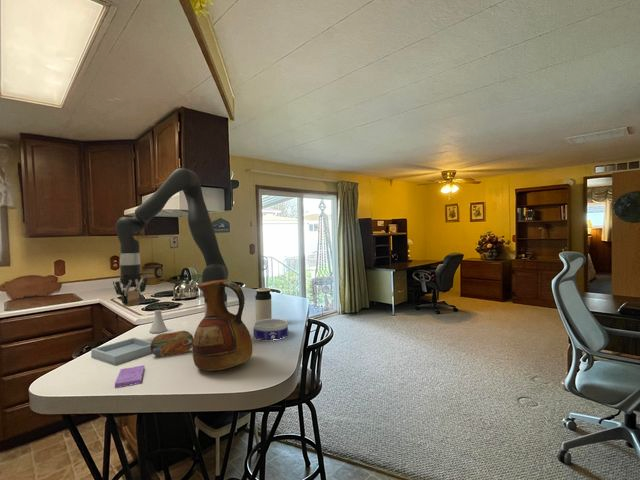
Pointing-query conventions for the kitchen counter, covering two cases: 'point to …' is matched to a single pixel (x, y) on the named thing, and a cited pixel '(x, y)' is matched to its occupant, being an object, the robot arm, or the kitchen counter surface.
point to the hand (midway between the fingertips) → (131, 303)
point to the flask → (158, 323)
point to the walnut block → (132, 298)
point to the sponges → (129, 376)
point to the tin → (171, 343)
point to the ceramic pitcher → (221, 330)
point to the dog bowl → (270, 329)
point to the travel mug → (263, 304)
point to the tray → (122, 351)
